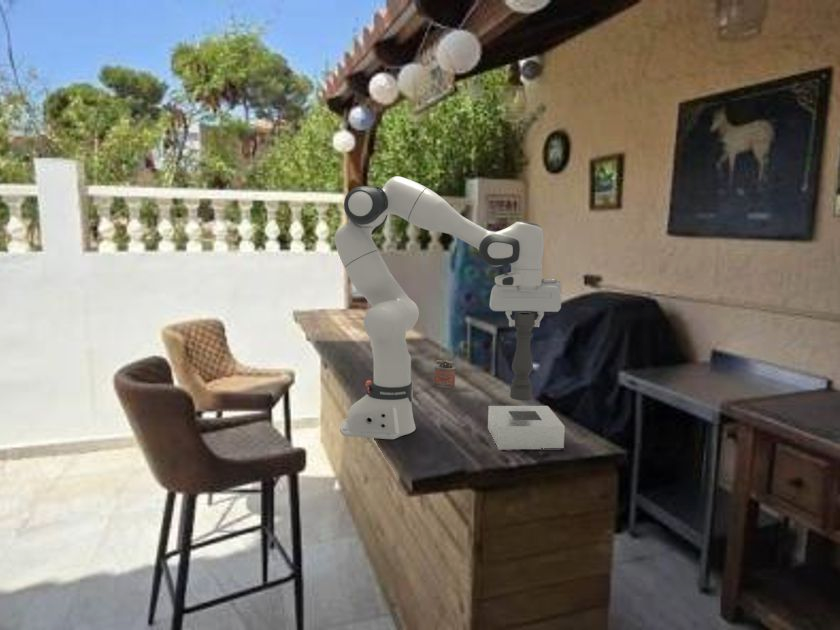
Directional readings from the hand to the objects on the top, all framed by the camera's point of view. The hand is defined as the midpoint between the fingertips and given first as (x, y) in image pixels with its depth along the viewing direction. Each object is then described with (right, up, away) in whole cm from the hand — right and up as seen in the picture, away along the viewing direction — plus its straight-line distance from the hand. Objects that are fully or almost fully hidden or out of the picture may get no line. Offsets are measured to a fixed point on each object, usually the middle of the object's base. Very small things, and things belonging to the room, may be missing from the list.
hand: (524, 326), depth 173 cm
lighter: (-21, -24, +53) cm, 62 cm away
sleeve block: (0, -32, 0) cm, 32 cm away
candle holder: (0, -21, +3) cm, 21 cm away
